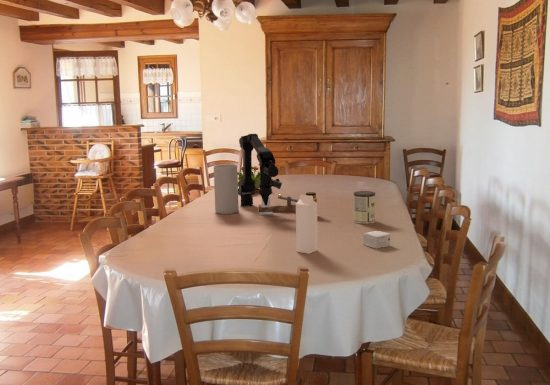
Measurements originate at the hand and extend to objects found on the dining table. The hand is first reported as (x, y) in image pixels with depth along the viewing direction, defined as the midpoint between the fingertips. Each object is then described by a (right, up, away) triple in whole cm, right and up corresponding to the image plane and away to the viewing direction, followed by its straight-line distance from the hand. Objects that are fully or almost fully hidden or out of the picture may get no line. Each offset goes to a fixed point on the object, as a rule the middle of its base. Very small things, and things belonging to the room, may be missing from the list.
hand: (266, 204), depth 279 cm
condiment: (+22, -6, -6) cm, 24 cm away
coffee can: (+48, -8, -21) cm, 53 cm away
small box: (+45, -15, -64) cm, 80 cm away
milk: (+17, -17, -71) cm, 75 cm away
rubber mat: (0, -5, +1) cm, 5 cm away
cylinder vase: (-21, -4, +8) cm, 23 cm away
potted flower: (-10, +7, +76) cm, 77 cm away
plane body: (+6, -3, +10) cm, 12 cm away
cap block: (0, -1, 0) cm, 1 cm away
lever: (+12, +3, +9) cm, 15 cm away
